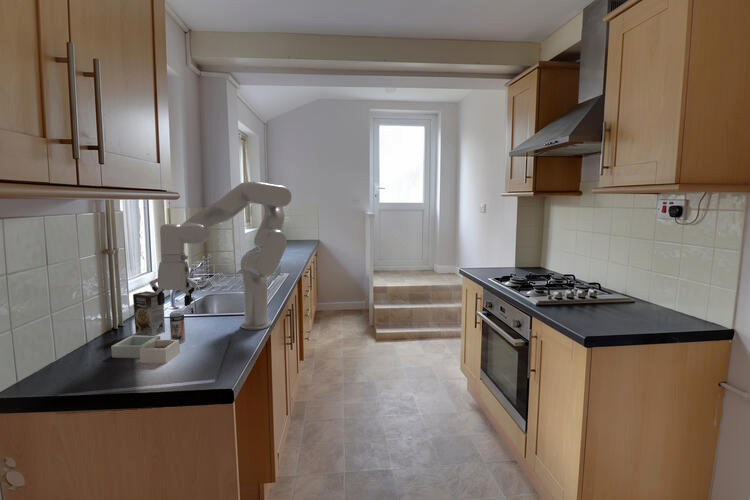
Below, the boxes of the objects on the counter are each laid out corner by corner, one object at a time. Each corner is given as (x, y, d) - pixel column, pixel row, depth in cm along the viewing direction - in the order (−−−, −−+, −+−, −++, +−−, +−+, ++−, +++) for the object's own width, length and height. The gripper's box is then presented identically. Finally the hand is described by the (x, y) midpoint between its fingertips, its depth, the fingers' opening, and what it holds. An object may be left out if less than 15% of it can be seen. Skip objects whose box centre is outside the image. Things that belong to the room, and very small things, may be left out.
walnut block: (156, 356, 130) (155, 346, 130) (167, 355, 131) (167, 345, 130) (153, 360, 127) (152, 350, 126) (165, 359, 127) (164, 349, 127)
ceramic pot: (155, 354, 133) (154, 339, 132) (179, 355, 133) (179, 339, 132) (140, 365, 125) (139, 348, 124) (166, 365, 125) (165, 349, 124)
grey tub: (132, 347, 139) (131, 335, 139) (160, 348, 139) (160, 335, 138) (112, 359, 129) (111, 346, 128) (143, 360, 129) (142, 346, 128)
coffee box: (134, 334, 153) (131, 294, 151) (148, 329, 159) (146, 290, 157) (152, 336, 150) (149, 296, 148) (166, 331, 157) (163, 292, 154)
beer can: (169, 346, 141) (167, 314, 139) (172, 341, 145) (170, 310, 144) (184, 345, 142) (182, 313, 141) (186, 340, 147) (185, 309, 145)
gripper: (201, 257, 143) (202, 303, 145) (155, 256, 143) (157, 301, 145) (191, 260, 136) (193, 308, 138) (142, 259, 136) (144, 306, 138)
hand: (174, 304), depth 141 cm, fingers open, 9 cm apart
